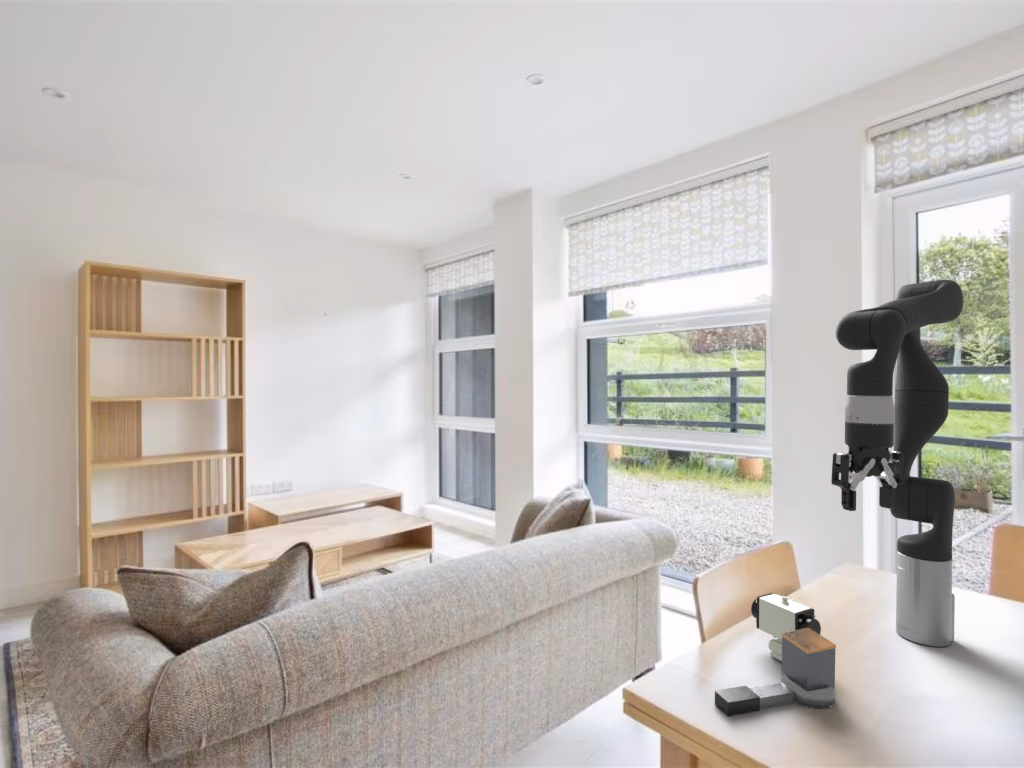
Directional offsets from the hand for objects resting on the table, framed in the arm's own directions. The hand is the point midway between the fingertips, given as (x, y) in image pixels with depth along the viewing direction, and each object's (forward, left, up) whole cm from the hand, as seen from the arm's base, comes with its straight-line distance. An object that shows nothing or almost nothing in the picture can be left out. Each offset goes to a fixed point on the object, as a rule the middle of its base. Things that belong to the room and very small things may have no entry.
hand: (867, 508), depth 99 cm
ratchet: (+22, +3, -30) cm, 38 cm away
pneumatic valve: (+11, -8, -30) cm, 33 cm away
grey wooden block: (+16, +3, -27) cm, 32 cm away
